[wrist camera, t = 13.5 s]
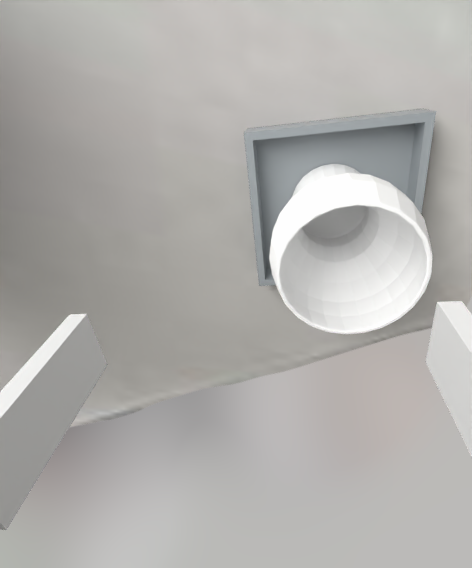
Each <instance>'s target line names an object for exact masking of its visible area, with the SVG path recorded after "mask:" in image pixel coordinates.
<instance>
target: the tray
mask: <svg viewBox="0 0 472 568" xmlns="http://www.w3.org/2000/svg"><path fill="white" fill-rule="evenodd" d="M435 115H436V111H432V110H427V109H416V110H407V111H399V112H390V113H381V114H372V115H363V116H354V117H346V118H337V119H328V120H319V121H310V122H301V123H293V124H284V125H275V126H266V127H257V128H248V129H247V130H246V131H245V132H244V139H245V149H246V159H247V169H248V179H249V189H250V199H251V209H252V219H253V229H254V239H255V250H256V260H257V270H258V280H259V286H265V285H276V284H275V281H274V278H273V276H272V271H271V266H270V260H269V255H270V246H271V238H272V232H273V228H274V226H275V224H276V221H277V219H278V216H279V214H280V212H281V211H282V210H283V208H284V207H285V206H286V204H287V203H288V202H289V200H290V199H291V198H292V195H293V193H294V190H295V188H296V186H297V184H298V183H299V182H300V180H301V179H302V178H303V177H304V176H305V175H306V174H308V173H309V172H310V171H311V170H313V169H316V168H318V167H320V166H323V165H328V164H342V165H346V166H349V167H351V168H354V169H355V170H357V171H358V172H359V173H360V174H368V175H372V176H374V177H377V178H380V179H382V180H385V181H388V182H390V183H391V184H392V185H393V186H395V187H396V188H397V189H399V190H400V191H401V192H403V193H404V194H405V195H406V196H407V197H408V198H409V199H410V200H411V201H412V202H413V203H414V205H415V206H416V208H417V209H418V211H419V212H420V214H421V213H422V206H423V199H424V192H425V185H426V178H427V171H428V164H429V157H430V150H431V143H432V136H433V129H434V122H435Z"/></svg>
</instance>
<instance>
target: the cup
mask: <svg viewBox="0 0 472 568" xmlns="http://www.w3.org/2000/svg"><path fill="white" fill-rule="evenodd" d="M432 258H433V255H432V249H431V244H430V238H429V234H428V231H427V227H426V224H425V220H424V218H423V216H422V215H421V214H420V212H419V211H418V209H417V208H416V206H415V205H414V203H413V202H412V201H411V200H410V199H409V198H408V197H407V196H406V195H405V194H404V193H403V192H401V191H400V190H399V189H397V188H396V187H395V186H393V185H392V184H391V183H390V182H388V181H385V180H382V179H380V178H377V177H374V176H372V175H368V174H360V173H359V172H358V171H357V170H355V169H354V168H351V167H349V166H346V165H342V164H328V165H323V166H320V167H318V168H316V169H313V170H311V171H310V172H309V173H308V174H306V175H305V176H304V177H303V178H302V179H301V180H300V182H299V183H298V184H297V186H296V188H295V190H294V193H293V195H292V198H291V199H290V200H289V202H288V203H287V204H286V206H285V207H284V208H283V210H282V211H281V212H280V214H279V216H278V219H277V221H276V224H275V226H274V228H273V232H272V238H271V246H270V255H269V260H270V266H271V271H272V276H273V278H274V281H275V284H276V286H277V289H278V291H279V293H280V295H281V297H282V299H283V301H284V303H285V305H286V306H287V307H288V308H289V309H290V310H291V311H292V312H293V313H294V315H295V316H296V317H298V318H299V319H301V320H302V321H304V322H305V323H307V324H309V325H310V326H312V327H315V328H318V329H321V330H323V331H326V332H332V333H340V334H356V333H365V332H369V331H372V330H376V329H379V328H383V327H385V326H386V325H388V324H390V323H392V322H394V321H396V320H398V319H400V318H401V317H402V316H403V315H404V314H406V313H407V312H408V311H409V310H410V309H412V308H413V307H414V306H415V304H416V303H417V301H418V300H419V299H420V297H421V296H422V295H423V293H424V292H425V290H426V287H427V285H428V282H429V279H430V277H431V274H432Z"/></svg>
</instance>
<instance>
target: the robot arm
mask: <svg viewBox="0 0 472 568" xmlns="http://www.w3.org/2000/svg"><path fill="white" fill-rule="evenodd" d="M426 364H427V366H428V368H429V370H430V372H431V374H432V376H433V379H434V381H435V383H436V385H437V387H438V389H439V391H440V393H441V395H442V397H443V399H444V401H445V403H446V405H447V408H448V410H449V412H450V414H451V416H452V418H453V420H454V422H455V424H456V426H457V428H458V430H459V432H460V434H461V436H462V439H463V441H464V442H465V445H466V447H467V449H468V451H469V453H470V455H471V457H472V314H471V313H470V311H469V310H468V309H467V308H466V306H465V305H464V304H463V302H462V301H449V302H437V305H436V310H435V315H434V321H433V326H432V332H431V337H430V341H429V347H428V352H427V357H426ZM107 365H108V364H107V362H106V359H105V357H104V354H103V352H102V349H101V347H100V345H99V342H98V340H97V337H96V335H95V332H94V330H93V327H92V325H91V323H90V320H89V318H88V315H87V314H70V315H69V316H68V317H67V318H66V319H65V320H64V321H63V323H62V324H61V325H60V326H59V327H58V328H57V329H56V330H55V331H54V333H53V334H52V335H51V336H50V337H49V338H48V339H47V340H46V341H45V343H44V344H43V345H42V346H41V347H40V348H39V349H38V350H37V352H36V353H35V354H34V355H33V356H32V357H31V358H30V359H29V360H28V362H27V363H26V364H25V365H24V366H23V367H22V368H21V369H20V370H19V372H18V373H17V374H16V375H15V376H14V377H13V378H12V379H11V380H10V382H9V383H8V384H7V385H6V386H5V387H4V388H3V389H2V391H0V529H2V530H3V529H4V530H7V528H8V527H9V525H10V523H11V522H12V520H13V518H14V517H15V515H16V513H17V512H18V510H19V509H20V507H21V505H22V504H23V502H24V500H25V499H26V497H27V495H28V494H29V492H30V491H31V489H32V487H33V486H34V484H35V482H36V481H37V479H38V478H39V476H40V474H41V473H42V471H43V469H44V468H45V466H46V465H47V463H48V461H49V460H50V458H51V456H52V455H53V453H54V451H55V450H56V448H57V446H58V445H59V443H60V442H61V440H62V438H63V437H64V435H65V433H66V432H67V430H68V429H69V427H70V425H71V424H72V422H73V420H74V419H75V417H76V415H77V414H78V412H79V411H80V409H81V407H82V406H83V404H84V402H85V401H86V399H87V398H88V396H89V394H90V393H91V391H92V389H93V388H94V386H95V384H96V383H97V381H98V380H99V378H100V376H101V375H102V373H103V371H104V370H105V368H106V366H107Z"/></svg>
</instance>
